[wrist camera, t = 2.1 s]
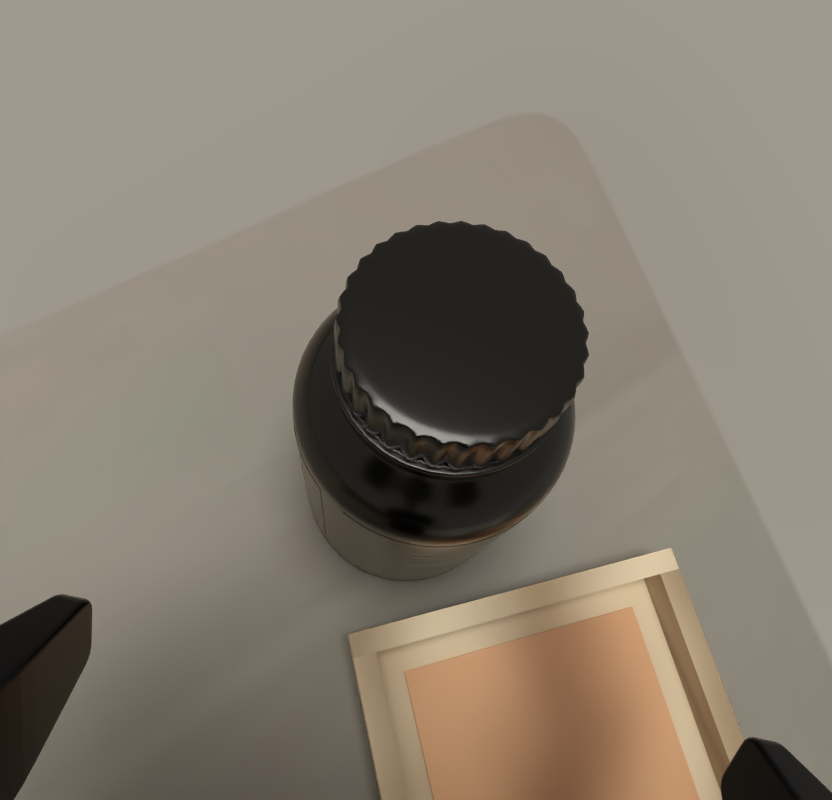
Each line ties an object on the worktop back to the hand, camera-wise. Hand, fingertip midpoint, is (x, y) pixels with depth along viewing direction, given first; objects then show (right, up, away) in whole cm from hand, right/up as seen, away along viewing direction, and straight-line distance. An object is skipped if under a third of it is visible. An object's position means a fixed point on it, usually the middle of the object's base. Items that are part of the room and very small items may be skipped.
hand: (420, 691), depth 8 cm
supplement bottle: (-1, +1, +14) cm, 14 cm away
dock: (+4, -8, +11) cm, 14 cm away
